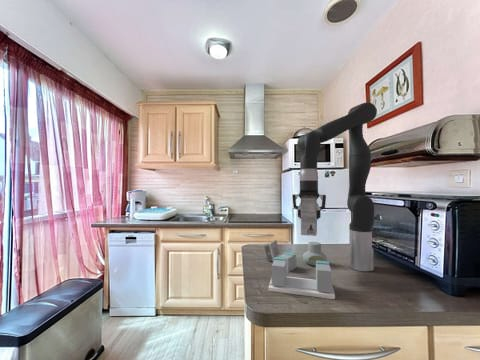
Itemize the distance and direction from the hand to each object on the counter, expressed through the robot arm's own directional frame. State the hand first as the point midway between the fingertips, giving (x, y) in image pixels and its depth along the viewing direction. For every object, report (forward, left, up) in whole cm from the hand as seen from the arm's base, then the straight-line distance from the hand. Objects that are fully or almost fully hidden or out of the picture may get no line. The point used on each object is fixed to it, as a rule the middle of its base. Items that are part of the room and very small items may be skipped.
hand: (308, 218), depth 100 cm
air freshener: (-3, -14, -24) cm, 28 cm away
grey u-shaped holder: (+3, +15, -23) cm, 28 cm away
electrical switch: (+17, -14, -24) cm, 32 cm away
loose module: (+9, -4, -23) cm, 26 cm away
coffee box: (0, 0, -7) cm, 7 cm away
